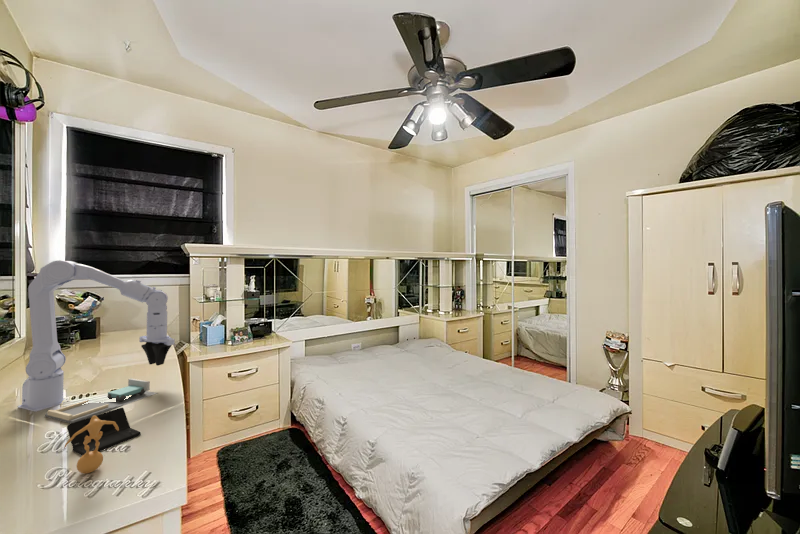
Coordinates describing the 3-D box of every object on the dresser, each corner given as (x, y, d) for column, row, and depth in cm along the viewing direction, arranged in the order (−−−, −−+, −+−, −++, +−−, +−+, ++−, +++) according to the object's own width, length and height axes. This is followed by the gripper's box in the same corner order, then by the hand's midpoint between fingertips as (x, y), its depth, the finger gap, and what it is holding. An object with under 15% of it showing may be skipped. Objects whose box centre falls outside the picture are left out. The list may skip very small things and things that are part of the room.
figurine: (112, 458, 71) (113, 404, 71) (122, 467, 68) (123, 410, 68) (58, 479, 64) (59, 418, 64) (67, 490, 61) (68, 426, 61)
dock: (44, 417, 90) (44, 409, 90) (133, 389, 111) (133, 383, 111) (71, 424, 86) (71, 416, 86) (158, 394, 107) (158, 387, 107)
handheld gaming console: (92, 451, 71) (80, 410, 74) (71, 468, 72) (60, 426, 75) (146, 434, 82) (134, 398, 85) (127, 448, 83) (116, 413, 86)
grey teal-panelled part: (102, 399, 102) (102, 386, 102) (132, 390, 110) (132, 377, 110) (121, 403, 99) (122, 390, 99) (150, 393, 107) (150, 381, 107)
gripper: (183, 324, 114) (182, 363, 114) (154, 322, 119) (153, 359, 119) (163, 327, 108) (162, 368, 108) (133, 325, 112) (132, 364, 112)
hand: (156, 364), depth 113 cm, fingers open, 3 cm apart
